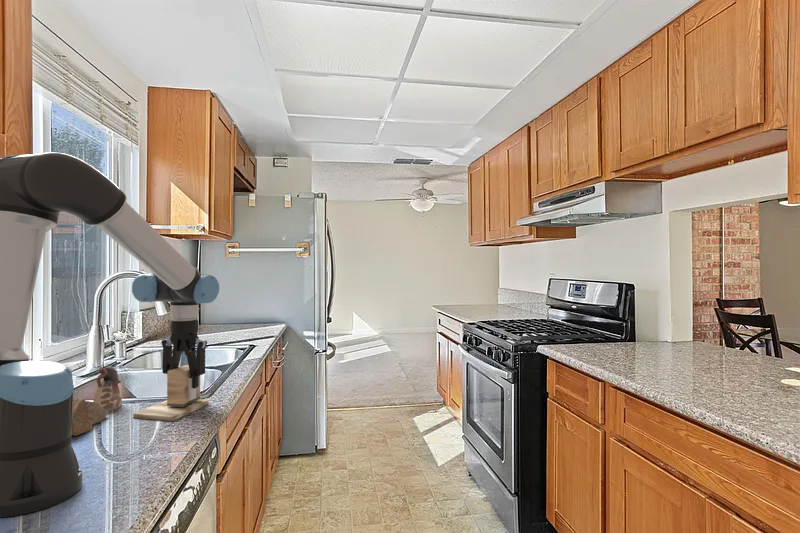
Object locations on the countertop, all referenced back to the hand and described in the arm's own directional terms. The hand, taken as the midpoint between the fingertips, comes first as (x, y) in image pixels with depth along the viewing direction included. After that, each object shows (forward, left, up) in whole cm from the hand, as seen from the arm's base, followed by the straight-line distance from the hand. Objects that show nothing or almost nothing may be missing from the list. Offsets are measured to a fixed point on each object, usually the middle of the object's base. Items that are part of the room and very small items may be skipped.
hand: (183, 398), depth 134 cm
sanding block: (0, 0, -1) cm, 1 cm away
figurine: (-4, +22, -3) cm, 23 cm away
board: (-3, +2, -3) cm, 4 cm away
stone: (-20, +16, -4) cm, 26 cm away
